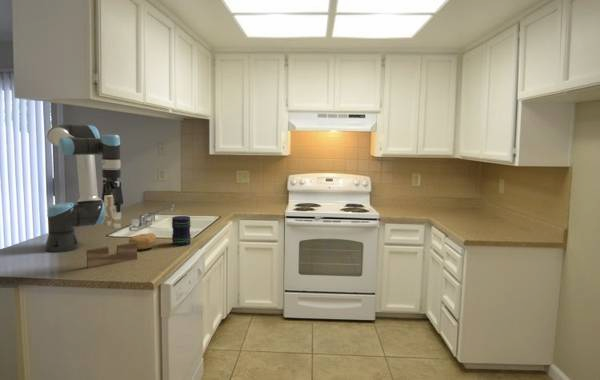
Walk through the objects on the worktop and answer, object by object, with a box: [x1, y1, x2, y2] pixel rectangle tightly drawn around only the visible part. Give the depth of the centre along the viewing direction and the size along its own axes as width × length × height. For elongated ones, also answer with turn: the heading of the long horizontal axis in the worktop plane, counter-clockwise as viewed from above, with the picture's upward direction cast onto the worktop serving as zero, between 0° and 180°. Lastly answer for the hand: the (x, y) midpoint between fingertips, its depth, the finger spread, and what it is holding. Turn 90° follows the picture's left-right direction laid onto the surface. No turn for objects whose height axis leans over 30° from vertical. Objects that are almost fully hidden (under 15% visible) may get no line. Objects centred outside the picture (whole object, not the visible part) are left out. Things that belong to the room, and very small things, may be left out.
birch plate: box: [103, 194, 122, 230], centre depth 186 cm, size 10×3×14 cm, turn 47°
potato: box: [128, 232, 157, 251], centre depth 213 cm, size 10×14×8 cm
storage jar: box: [171, 215, 192, 247], centre depth 225 cm, size 10×10×15 cm
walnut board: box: [85, 242, 138, 269], centre depth 189 cm, size 2×22×8 cm, turn 136°
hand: (112, 217), depth 187 cm, fingers closed on birch plate, 10 cm apart
